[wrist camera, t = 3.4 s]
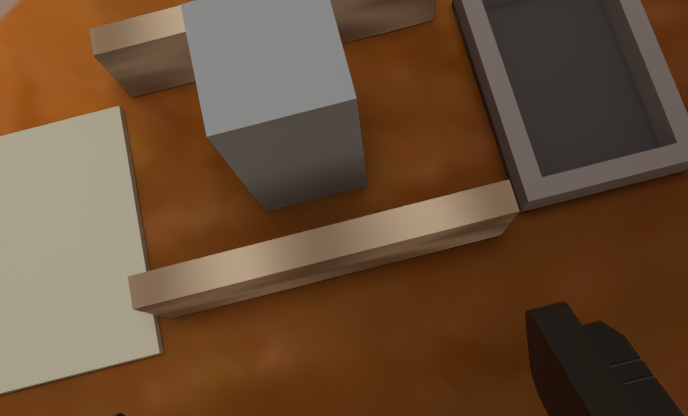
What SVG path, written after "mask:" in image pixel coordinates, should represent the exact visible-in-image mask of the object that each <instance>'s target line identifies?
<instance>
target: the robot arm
mask: <svg viewBox="0 0 688 416" xmlns="http://www.w3.org/2000/svg"><path fill="white" fill-rule="evenodd" d="M525 320H526V330H527V339H528V349H529V358H530V367H531V372H532V377H533V380H534V383H535V387H536V389H537V392H538V394H539V397H540V399H541V401H542V403H543V405H544V407H545V409H546V411H547V413H548V415H549V416H684V415H683V414H682V413H681V411H680V410H679V409H678V407H677V406H676V405H675V403H674V402H673V401H672V399H671V398H670V397H669V395H668V394H667V393H666V391H665V390H664V389H663V387H662V386H661V385H660V383H659V382H658V381H657V379H656V378H655V379H654V377H653V374H652V373H651V371H650V370H649V369H648V367H647V366H646V365H645V363H644V362H643V361H641V360H640V357H639V355H638V354H637V353H636V351H635V350H634V349H633V347H632V346H631V345H630V343H629V342H628V341H627V339H626V338H625V337H624V336H623V335H622V334H620V333H619V332H617V331H615V330H614V329H612V328H611V327H609V326H607V325H606V324H604V323H603V322H601V321H597V322H593V323H589V324H585V325H582V324H581V323H580V322H579V320H578V319H577V317H576V316H575V314H574V313H573V311H572V310H571V308H570V307H569V306H568V304H567V303H566V302H559V303H555V304H551V305H547V306H543V307H539V308H535V309H531V310H528V311H526V313H525ZM111 416H125V415H123V414H121V413H119V414H115V415H111Z"/></svg>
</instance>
